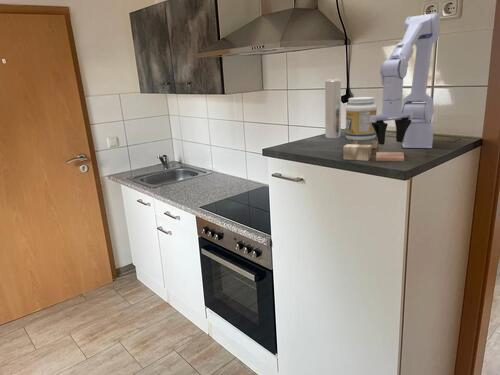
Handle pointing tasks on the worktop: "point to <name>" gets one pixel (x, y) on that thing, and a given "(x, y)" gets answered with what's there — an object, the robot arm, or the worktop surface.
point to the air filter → (332, 108)
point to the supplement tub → (360, 118)
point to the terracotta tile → (389, 156)
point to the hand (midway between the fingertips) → (390, 143)
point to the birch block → (357, 152)
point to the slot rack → (374, 147)
